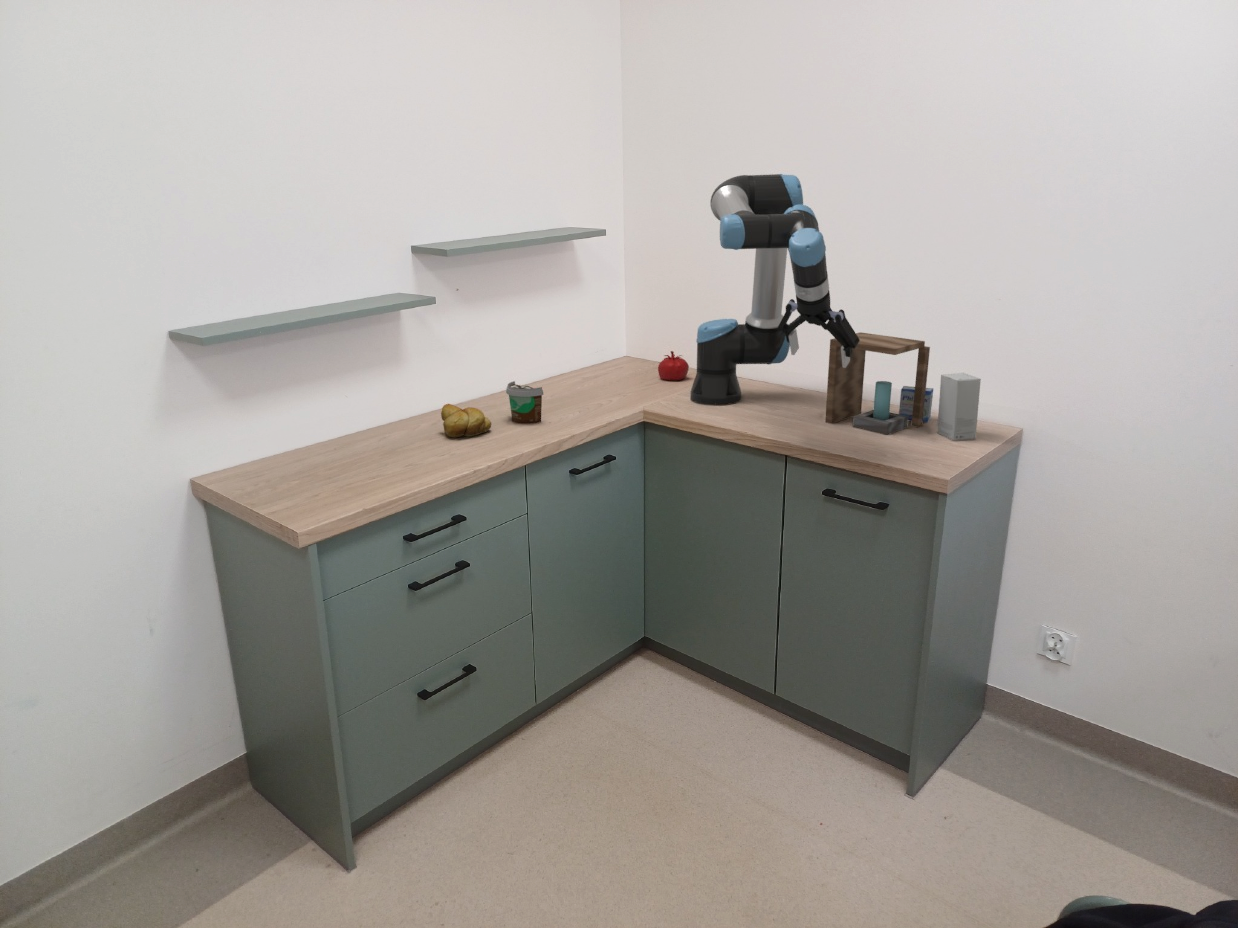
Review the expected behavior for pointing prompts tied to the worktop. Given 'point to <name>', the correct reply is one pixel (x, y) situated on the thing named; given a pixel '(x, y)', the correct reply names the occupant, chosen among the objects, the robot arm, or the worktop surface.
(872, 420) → the wooden table arch
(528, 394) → the food container
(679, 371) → the red tomato
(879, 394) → the peg
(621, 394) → the worktop surface
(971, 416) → the skincare box
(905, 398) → the medicine box
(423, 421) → the worktop surface
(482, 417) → the bread roll
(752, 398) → the worktop surface
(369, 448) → the worktop surface
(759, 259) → the robot arm
